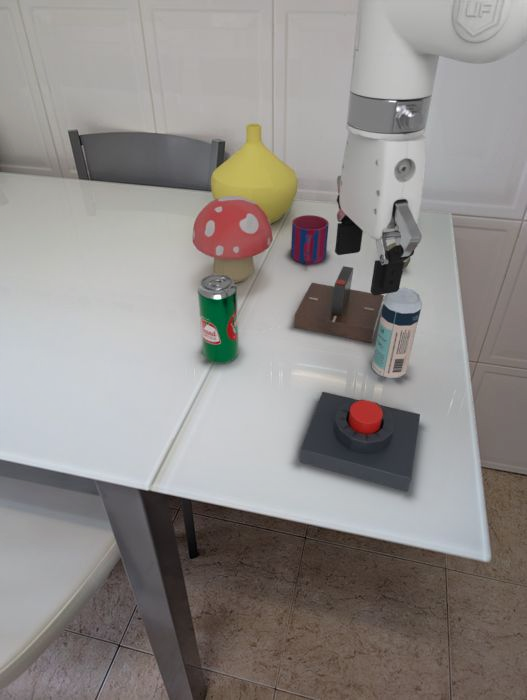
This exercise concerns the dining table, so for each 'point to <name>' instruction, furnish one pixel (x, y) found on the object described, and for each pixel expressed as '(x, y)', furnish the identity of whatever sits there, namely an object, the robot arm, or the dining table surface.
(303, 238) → the cup
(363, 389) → the dining table surface
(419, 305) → the beer can
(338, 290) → the dark upright slab
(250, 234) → the decorative mushroom
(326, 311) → the knob panel
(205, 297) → the soda can
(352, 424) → the button
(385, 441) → the button box
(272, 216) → the vase
